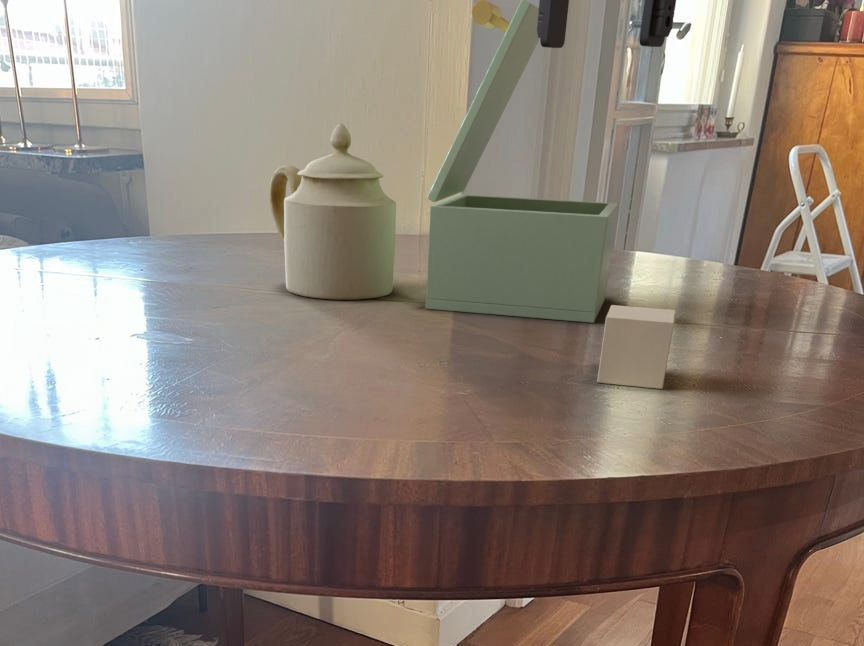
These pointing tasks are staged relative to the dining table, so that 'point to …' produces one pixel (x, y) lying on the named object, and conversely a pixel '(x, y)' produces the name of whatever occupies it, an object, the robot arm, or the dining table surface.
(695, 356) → the dining table surface
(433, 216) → the chest
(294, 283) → the sugar bowl
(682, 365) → the dining table surface
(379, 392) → the dining table surface
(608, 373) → the block
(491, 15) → the chest lid
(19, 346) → the dining table surface
